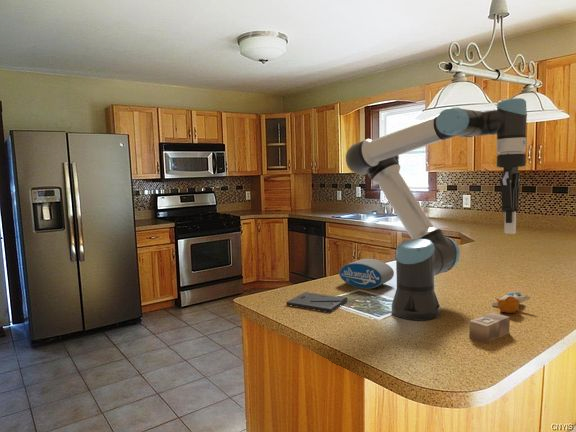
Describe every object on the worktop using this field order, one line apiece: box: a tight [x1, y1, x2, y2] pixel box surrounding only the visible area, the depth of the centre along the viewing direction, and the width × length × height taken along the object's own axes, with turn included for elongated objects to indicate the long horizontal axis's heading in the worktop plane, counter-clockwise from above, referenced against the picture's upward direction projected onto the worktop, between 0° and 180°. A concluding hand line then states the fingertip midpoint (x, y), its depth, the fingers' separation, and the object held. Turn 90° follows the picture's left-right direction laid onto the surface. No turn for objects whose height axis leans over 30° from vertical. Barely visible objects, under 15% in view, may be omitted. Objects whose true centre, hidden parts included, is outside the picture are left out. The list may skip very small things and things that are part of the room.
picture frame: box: [286, 291, 348, 313], centre depth 148 cm, size 13×2×18 cm
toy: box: [491, 291, 531, 314], centre depth 134 cm, size 12×6×15 cm
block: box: [468, 311, 511, 345], centre depth 114 cm, size 5×5×11 cm
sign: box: [338, 258, 395, 290], centre depth 169 cm, size 20×10×10 cm, turn 50°
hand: (510, 233), depth 123 cm, fingers closed
